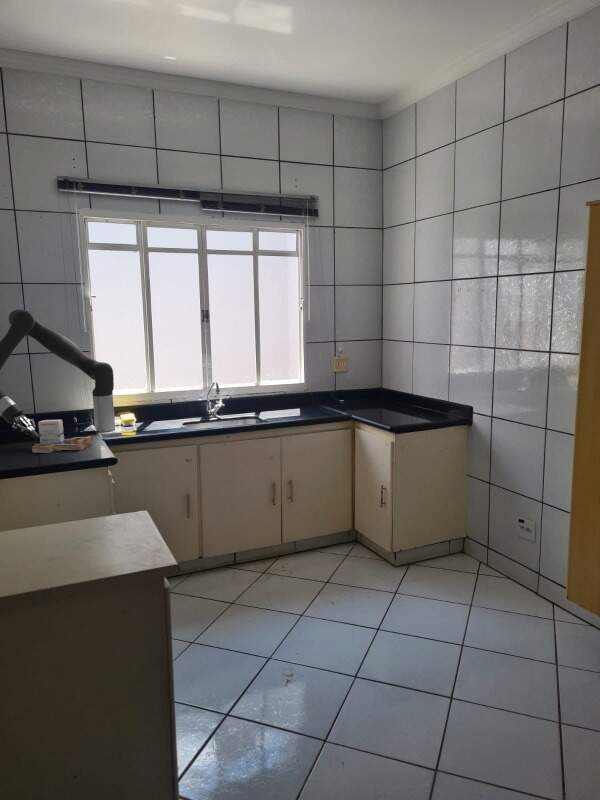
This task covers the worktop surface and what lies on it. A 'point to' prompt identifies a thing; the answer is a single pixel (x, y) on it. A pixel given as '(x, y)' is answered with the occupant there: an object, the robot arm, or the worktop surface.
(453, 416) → the worktop surface
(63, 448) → the trap lane
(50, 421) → the ink box
